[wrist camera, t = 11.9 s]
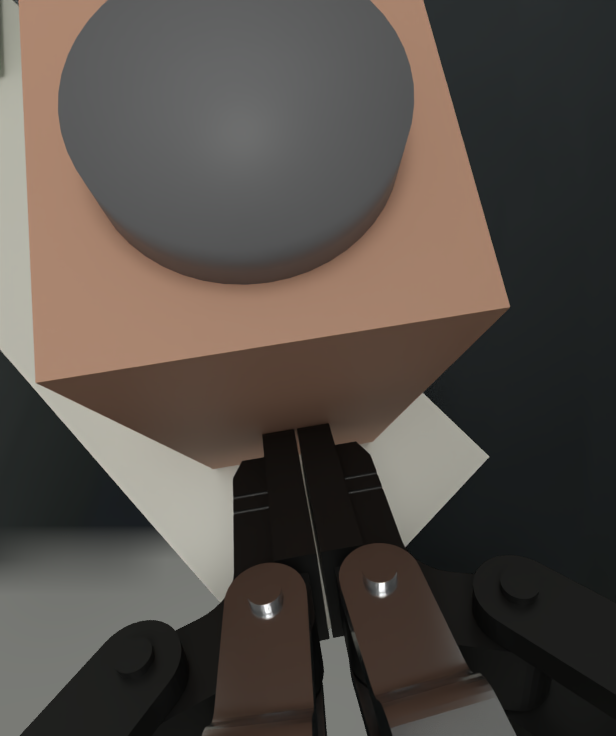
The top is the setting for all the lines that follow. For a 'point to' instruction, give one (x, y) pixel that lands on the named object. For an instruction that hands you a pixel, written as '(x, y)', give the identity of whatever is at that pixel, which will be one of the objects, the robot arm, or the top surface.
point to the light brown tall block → (247, 216)
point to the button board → (162, 464)
